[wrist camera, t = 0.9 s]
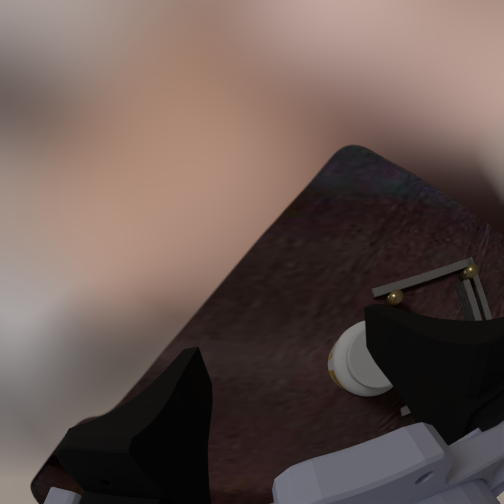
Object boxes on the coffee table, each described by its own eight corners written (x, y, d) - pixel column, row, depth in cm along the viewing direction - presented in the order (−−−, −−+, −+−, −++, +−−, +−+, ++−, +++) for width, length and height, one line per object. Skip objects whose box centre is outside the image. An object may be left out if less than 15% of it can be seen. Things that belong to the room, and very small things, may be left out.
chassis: (500, 368, 19) (513, 366, 17) (400, 415, 21) (408, 418, 19) (469, 259, 25) (479, 249, 23) (371, 290, 26) (376, 282, 24)
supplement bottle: (387, 387, 22) (424, 391, 14) (328, 394, 23) (337, 406, 14) (382, 330, 24) (417, 305, 16) (326, 336, 25) (333, 315, 17)
